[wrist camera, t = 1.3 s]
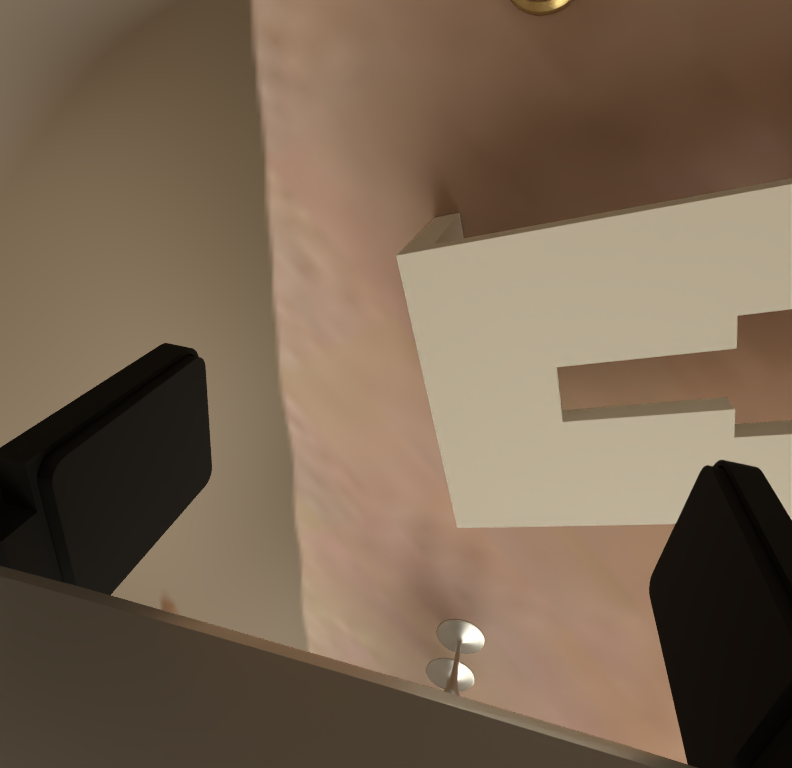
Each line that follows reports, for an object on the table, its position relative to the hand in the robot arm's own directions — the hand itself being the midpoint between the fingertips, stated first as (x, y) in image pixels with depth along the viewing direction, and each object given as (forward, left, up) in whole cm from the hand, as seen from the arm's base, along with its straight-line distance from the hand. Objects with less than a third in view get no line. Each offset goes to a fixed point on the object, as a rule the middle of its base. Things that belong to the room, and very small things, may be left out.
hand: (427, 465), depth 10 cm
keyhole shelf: (-9, +7, -26) cm, 28 cm away
